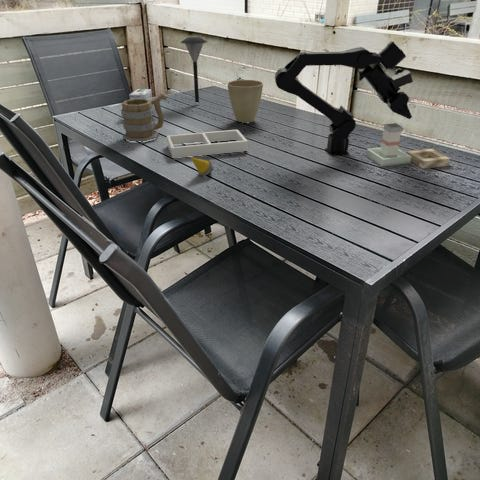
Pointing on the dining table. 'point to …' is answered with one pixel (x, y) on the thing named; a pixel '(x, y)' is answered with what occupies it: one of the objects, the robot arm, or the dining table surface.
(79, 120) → the dining table surface
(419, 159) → the collar block
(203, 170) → the yellow tapered piece
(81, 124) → the dining table surface
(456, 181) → the dining table surface
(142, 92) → the light bulb box
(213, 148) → the parts bin
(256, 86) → the plant pot
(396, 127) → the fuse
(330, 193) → the dining table surface
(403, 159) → the tray
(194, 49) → the solar garden light
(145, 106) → the tankard
